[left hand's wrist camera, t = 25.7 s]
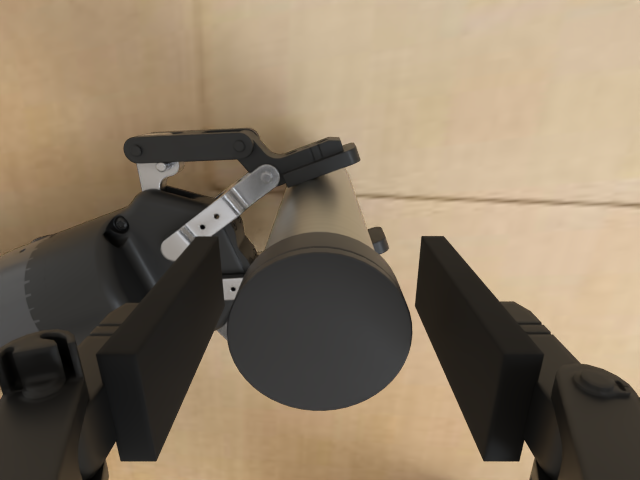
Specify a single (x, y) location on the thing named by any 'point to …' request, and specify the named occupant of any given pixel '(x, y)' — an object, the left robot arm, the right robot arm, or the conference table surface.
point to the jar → (320, 209)
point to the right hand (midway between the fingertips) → (369, 196)
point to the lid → (319, 322)
